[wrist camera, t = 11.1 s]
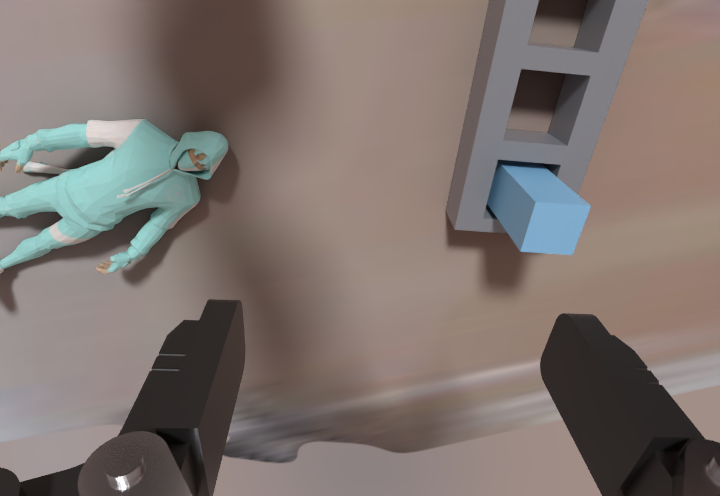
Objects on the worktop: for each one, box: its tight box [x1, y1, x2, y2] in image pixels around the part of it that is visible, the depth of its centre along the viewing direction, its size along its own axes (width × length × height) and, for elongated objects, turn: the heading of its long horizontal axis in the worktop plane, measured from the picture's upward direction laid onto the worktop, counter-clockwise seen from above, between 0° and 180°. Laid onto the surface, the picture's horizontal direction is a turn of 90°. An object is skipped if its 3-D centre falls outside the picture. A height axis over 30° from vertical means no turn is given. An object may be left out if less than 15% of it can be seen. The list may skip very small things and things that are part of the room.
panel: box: [446, 0, 648, 233], centre depth 36 cm, size 22×10×4 cm, turn 175°
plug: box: [487, 160, 591, 255], centre depth 36 cm, size 4×4×11 cm
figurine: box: [0, 119, 228, 274], centre depth 39 cm, size 13×6×30 cm
